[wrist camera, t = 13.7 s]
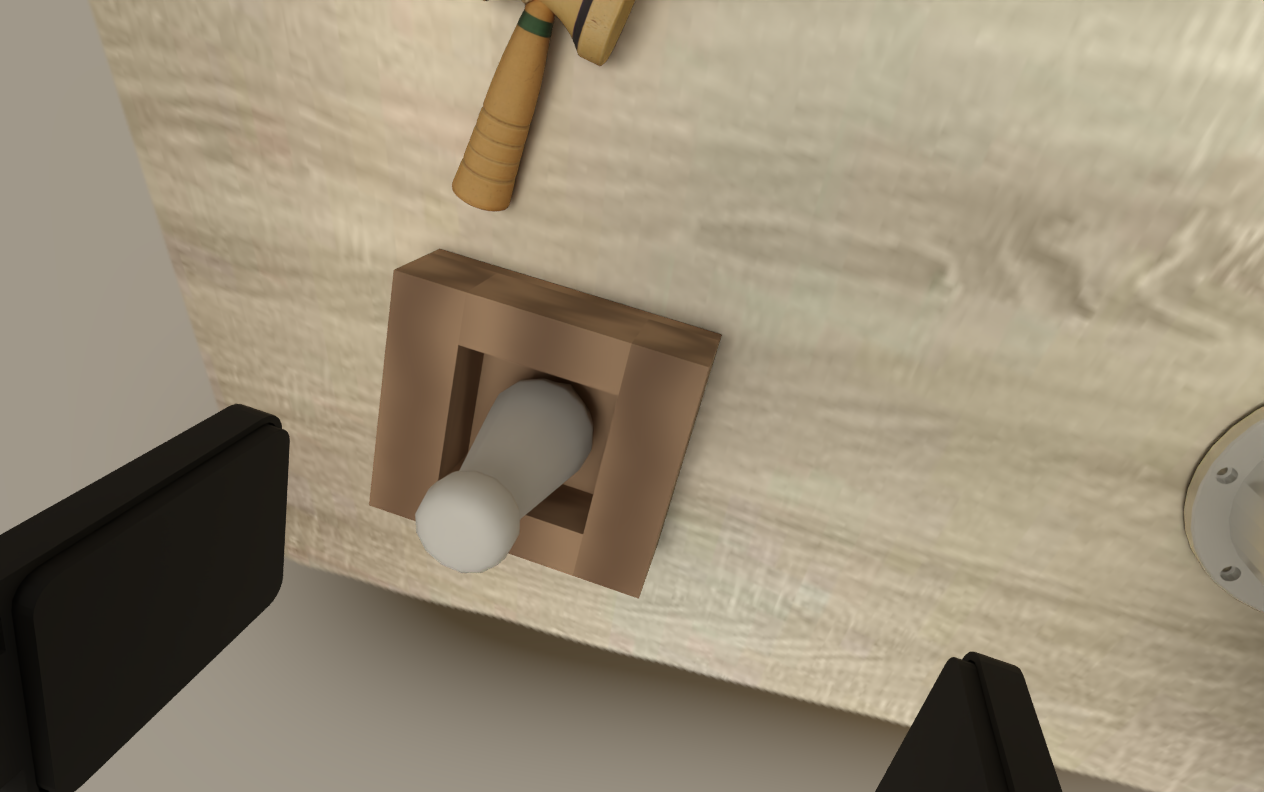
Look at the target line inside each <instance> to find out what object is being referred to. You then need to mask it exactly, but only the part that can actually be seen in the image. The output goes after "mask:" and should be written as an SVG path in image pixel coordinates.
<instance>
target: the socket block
mask: <svg viewBox="0 0 1264 792" xmlns="http://www.w3.org/2000/svg"><path fill="white" fill-rule="evenodd" d="M721 336H722V335H721V334H718V333H715V332H711V331H708V330H705V329H702V328H698V327H695V326H692V325H688V324H685V323H682V322H679V321H675V320H672V319H669V318H665V317H662V316H659V315H656V314H652V313H649V312H646V311H642V310H639V309H636V308H633V307H629V306H626V305H623V304H619V303H616V302H613V301H609V300H606V299H603V298H600V297H596V296H593V295H590V294H586V293H583V292H580V291H577V290H573V289H570V288H567V287H563V286H560V285H557V284H554V283H550V282H547V281H544V280H540V279H537V278H534V277H531V276H527V275H524V274H521V273H517V272H514V271H511V270H508V269H504V268H501V267H498V266H494V265H491V264H488V263H484V262H481V261H478V260H475V259H471V258H468V257H465V256H461V255H458V254H455V253H452V252H448V251H445V250H442V249H438V250H436V251H434V252H432V253H430V254H427V255H425V256H423V257H421V258H419V259H417V260H414V261H412V262H410V263H408V264H406V265H403V266H401V267H399V268H397V269H395V270H394V273H393V283H392V292H391V302H390V312H389V321H388V331H387V340H386V350H385V359H384V369H383V378H382V388H381V397H380V407H379V416H378V426H377V435H376V445H375V454H374V464H373V473H372V483H371V492H370V502H369V505H370V506H373V507H376V508H379V509H382V510H385V511H388V512H391V513H394V514H396V515H399V516H402V517H405V518H408V519H411V520H414V521H416V518H415V513H416V511H417V510H418V508H419V506H420V504H421V502H422V500H423V499H424V497H425V495H426V493H427V491H428V489H429V488H430V487H431V486H433V485H434V484H435V483H436V482H437V481H439V480H441V479H442V478H444V477H446V476H447V475H449V474H451V473H452V472H455V471H459V470H460V468H461V466H462V464H463V462H464V460H465V458H466V457H467V455H468V453H469V451H470V449H471V447H472V445H473V443H474V441H475V439H476V437H477V435H478V433H479V431H480V429H481V427H482V425H483V423H484V421H485V419H486V417H487V415H488V413H489V411H490V409H491V407H492V406H493V404H494V402H495V400H496V398H497V397H498V395H499V394H500V393H501V392H503V391H504V390H506V389H508V388H509V387H511V386H512V385H514V384H516V383H517V382H519V381H521V380H530V379H547V380H550V381H554V382H558V383H565V384H571V385H572V387H573V388H574V389H575V391H576V392H577V394H578V395H579V397H580V398H581V399H582V401H583V402H584V404H585V405H586V407H587V408H588V409H589V411H590V414H591V418H592V422H593V440H592V449H591V452H590V453H589V455H588V457H587V458H586V460H585V462H584V463H583V465H582V466H581V468H580V470H578V471H577V472H576V473H575V474H574V475H572V476H571V477H570V478H569V479H568V480H567V481H565V482H564V483H563V484H562V485H561V486H559V487H558V488H557V489H556V490H555V491H553V492H552V493H551V494H550V495H549V496H547V497H546V498H545V499H544V500H543V501H542V502H540V503H539V504H538V505H537V506H536V507H534V508H533V509H532V510H531V511H530V512H528V513H527V514H526V515H525V516H524V517H522V518H521V519H520V531H519V535H518V537H517V539H516V541H515V543H514V544H513V546H512V548H511V549H510V551H509V554H512V555H515V556H518V557H520V558H523V559H526V560H529V561H532V562H535V563H538V564H541V565H544V566H546V567H549V568H552V569H555V570H558V571H561V572H564V573H567V574H570V575H572V576H575V577H578V578H581V579H584V580H587V581H590V582H593V583H596V584H598V585H601V586H604V587H607V588H610V589H613V590H616V591H619V592H621V593H624V594H627V595H630V596H633V597H636V598H639V596H640V593H641V591H642V588H643V585H644V582H645V579H646V576H647V573H648V571H649V568H650V565H651V562H652V559H653V556H654V553H655V550H656V548H657V544H658V541H659V538H660V535H661V531H662V528H663V525H664V522H665V518H666V515H667V512H668V509H669V505H670V502H671V499H672V495H673V492H674V489H675V486H676V482H677V479H678V476H679V473H680V469H681V466H682V463H683V460H684V456H685V453H686V450H687V447H688V443H689V440H690V437H691V434H692V430H693V427H694V424H695V420H696V417H697V414H698V411H699V407H700V404H701V401H702V398H703V394H704V391H705V388H706V385H707V381H708V378H709V375H710V372H711V368H712V365H713V362H714V359H715V355H716V352H717V349H718V346H719V342H720V339H721Z"/></svg>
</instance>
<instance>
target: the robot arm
mask: <svg viewBox="0 0 1264 792" xmlns="http://www.w3.org/2000/svg"><path fill="white" fill-rule="evenodd" d="M289 445H290V439H289V434H288V432H287V431H286V430H284V429H282V424H281V422H280V419H279V418H278V417H276V416H275V415H272V414H269V413H266V412H263V411H260V410H257V409H254V408H251V407H248V406H245V405H242V404H234V405H231V406H229V407H227V408H225V409H223V410H222V411H220V412H218V413H216V414H215V415H213V416H211V417H209V418H207V419H206V420H204V421H202V422H200V423H199V424H197V425H195V426H193V427H191V428H190V429H188V430H186V431H184V432H183V433H181V434H179V435H178V436H175V437H174V438H172V439H170V440H168V441H167V442H165V443H163V444H161V445H159V446H158V447H156V448H154V449H152V450H151V451H149V452H147V453H145V454H143V455H142V456H140V457H138V458H136V459H134V460H133V461H131V462H129V463H127V464H126V465H124V466H122V467H120V468H118V469H117V470H115V471H113V472H111V473H110V474H108V475H106V476H104V477H102V478H101V479H99V480H97V481H95V482H94V483H92V484H90V485H88V486H86V487H85V488H83V489H81V490H79V491H78V492H76V493H74V494H72V495H70V496H69V497H67V498H65V499H63V500H61V501H60V502H58V503H56V504H54V505H53V506H51V507H49V508H47V509H45V510H44V511H42V512H40V513H38V514H37V515H35V516H33V517H31V518H29V519H28V520H26V521H24V522H22V523H21V524H19V525H17V526H15V527H13V528H12V529H10V530H8V531H6V532H5V533H3V534H1V535H0V792H74V791H76V790H77V789H78V788H79V787H81V786H82V785H83V784H84V783H85V782H86V781H87V780H88V779H89V778H90V777H91V776H92V775H93V774H94V773H96V772H97V771H98V770H99V769H100V768H101V767H102V766H103V765H104V764H105V763H106V762H107V761H108V760H109V759H110V758H111V757H112V756H113V755H114V754H115V753H116V752H117V751H118V750H119V749H120V748H121V747H122V746H124V745H125V743H127V742H128V741H129V740H130V739H131V738H132V737H133V736H134V735H135V734H136V733H137V732H138V731H139V730H140V729H141V728H142V727H143V726H144V725H145V724H146V723H147V722H148V721H150V720H151V719H152V717H154V716H155V715H156V714H157V713H158V712H159V711H160V710H161V709H162V708H163V707H164V706H165V705H166V704H167V703H168V702H169V701H170V700H171V699H172V698H173V697H174V696H176V695H177V693H179V692H180V691H181V689H183V688H184V687H185V686H186V685H187V684H188V683H189V682H190V681H191V680H192V679H193V678H194V677H195V676H196V675H197V674H198V673H199V672H200V671H201V670H202V669H204V668H205V667H206V665H208V664H209V663H210V662H211V661H212V660H213V659H214V658H215V657H216V656H217V655H218V654H219V653H220V652H221V651H222V650H223V649H224V648H225V647H226V646H227V645H228V644H230V643H231V642H232V641H233V640H234V639H235V638H236V637H237V636H238V635H239V634H240V633H241V632H242V631H243V630H244V629H245V628H246V627H247V626H248V625H249V624H250V623H251V622H252V621H253V620H254V619H256V618H257V616H259V615H260V614H261V613H262V612H263V611H264V610H265V609H266V608H267V607H268V606H269V605H270V604H271V603H272V602H273V600H274V599H275V597H276V596H277V594H278V592H279V590H280V587H281V584H282V580H283V565H284V564H283V563H284V545H285V525H286V505H287V485H288V465H289ZM1220 469H1221V470H1220ZM1184 520H1185V532H1186V535H1187V538H1188V541H1189V544H1190V547H1191V550H1192V552H1193V553H1194V555H1195V556H1196V558H1197V559H1198V561H1199V562H1200V564H1201V566H1202V567H1203V568H1204V570H1205V571H1206V572H1207V573H1208V575H1209V576H1210V577H1211V578H1212V580H1213V581H1214V582H1215V583H1216V584H1217V585H1218V586H1219V587H1221V588H1222V589H1223V590H1224V591H1226V592H1227V593H1228V594H1229V595H1231V596H1232V597H1233V598H1235V599H1236V600H1238V601H1240V602H1242V603H1244V604H1246V605H1248V606H1250V607H1252V608H1254V609H1255V610H1257V611H1261V612H1264V407H1262V408H1260V409H1258V410H1256V411H1254V412H1253V413H1252V414H1250V415H1249V416H1247V417H1246V418H1244V419H1243V420H1242V421H1240V422H1239V423H1237V424H1236V425H1234V426H1233V427H1232V428H1231V429H1230V430H1229V431H1228V432H1227V433H1226V434H1224V435H1223V436H1222V437H1221V438H1220V439H1219V440H1218V441H1217V442H1216V443H1215V444H1214V445H1213V446H1212V447H1211V449H1210V450H1209V452H1208V453H1207V454H1206V456H1205V457H1204V459H1203V460H1202V461H1201V463H1200V464H1199V466H1198V467H1197V469H1196V472H1195V474H1194V476H1193V478H1192V481H1191V483H1190V485H1189V487H1188V491H1187V496H1186V502H1185V507H1184ZM875 792H1062V789H1061V786H1060V784H1059V780H1058V777H1057V774H1056V771H1055V768H1054V765H1053V762H1052V759H1051V757H1050V754H1049V751H1048V748H1047V745H1046V742H1045V739H1044V736H1043V733H1042V730H1041V727H1040V724H1039V721H1038V718H1037V715H1036V712H1035V709H1034V706H1033V703H1032V700H1031V697H1030V694H1029V691H1028V688H1027V685H1026V682H1025V679H1024V676H1023V674H1022V672H1021V670H1020V668H1018V667H1017V666H1015V665H1012V664H1009V663H1006V662H1003V661H1000V660H997V659H994V658H991V657H988V656H985V655H982V654H979V653H977V652H969V653H968V654H966V655H965V656H964V658H963V659H962V660H961V659H958V658H955V657H952V658H950V659H949V660H948V661H947V663H946V664H945V666H944V668H943V669H942V671H941V673H940V675H939V677H938V679H937V680H936V682H935V684H934V686H933V688H932V689H931V691H930V693H929V695H928V697H927V698H926V700H925V702H924V704H923V706H922V708H921V709H920V711H919V713H918V715H917V717H916V718H915V720H914V722H913V724H912V726H911V728H910V729H909V731H908V733H907V735H906V737H905V738H904V740H903V742H902V744H901V746H900V748H899V749H898V751H897V753H896V755H895V757H894V758H893V760H892V762H891V764H890V766H889V767H888V769H887V771H886V773H885V775H884V777H883V779H882V780H881V782H880V784H879V786H878V787H877V789H876V791H875Z"/></svg>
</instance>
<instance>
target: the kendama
mask: <svg viewBox="0 0 1264 792" xmlns="http://www.w3.org/2000/svg"><path fill="white" fill-rule="evenodd" d="M483 1H488V0H483ZM522 2H523V3H525V9H524V11H523V13H522V15H521V17H520V18H519V21H518V24H517V26H516V28H515V30H514V32H513V34H512V36H511V39H510V40H509V43H508V45H507V47H506V49H505V51H504V53H503V55H502V58H501V60H500V62H499V65H498V67H497V69H496V72H495V74H494V77H493V79H492V82H491V84H490V87H489V90H488V92H487V95H486V98H485V100H484V103H483V107H482V109H481V111H480V114H479V117H478V119H477V123H476V125H475V127H474V130H473V133H472V135H471V138H470V141H469V143H468V146H467V148H466V151H465V154H464V158H463V159H462V161H461V163H460V166H459V168H458V171H457V173H456V175H455V178H454V180H453V182H452V189H453V192H454V193H455V194H456V195H457V196H458V197H459V198H460V199H461V200H463V201H464V202H465V203H467V204H469V205H471V206H473V207H476V208H479V209H482V210H487V211H502V210H505V209H506V208H508V206H509V203H510V200H511V196H512V191H513V187H514V183H515V177H516V175H517V171H518V167H519V163H520V159H521V156H522V152H523V149H524V143H525V141H526V138H527V134H528V131H529V124H530V123H531V120H532V117H533V114H534V110H535V106H536V103H537V99H538V95H539V91H540V87H541V83H542V78H543V74H544V69H545V64H546V58H547V53H548V48H549V42H550V37H551V33H552V27H553V22H554V17H555V15H556V16H557V17H558V18H559V19H560V20H561V22H562V23H563V24H564V26H565V27H566V29H567V30H568V32H569V33H570V35H571V37H572V39H573V42H574V44H575V47H576V50H577V53H578V55H579V56H580V57H582V58H584V59H586V60H588V61H590V62H593V63H595V64H597V65H599V66H602V65H603V64H604V63H605V62H606V61H607V59H608V58H609V56H610V54H611V52H612V50H613V48H614V47H615V45H616V42H617V40H618V38H619V35H620V33H621V31H622V29H623V27H624V25H625V23H626V21H627V19H628V16H629V14H630V12H631V9H632V7H633V5H634V2H635V0H522Z"/></svg>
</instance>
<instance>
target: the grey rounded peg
mask: <svg viewBox="0 0 1264 792" xmlns="http://www.w3.org/2000/svg"><path fill="white" fill-rule="evenodd" d="M592 440H593V422H592V418H591V414H590V411H589V409H588V408H587V407H586V405H585V404H584V402H583V401H582V399H581V398H580V397H579V395H578V394H577V392H576V391H575V389H574V388H573V387H572V385H571V384H565V383H558V382H554V381H550V380H547V379H530V380H521V381H519V382H517V383H516V384H514V385H512V386H511V387H509V388H508V389H506V390H504V391H503V392H501V393H500V394H499V395H498V397H497V398H496V400H495V402H494V404H493V406H492V407H491V409H490V411H489V413H488V415H487V417H486V419H485V421H484V423H483V425H482V427H481V429H480V431H479V433H478V435H477V437H476V439H475V441H474V443H473V445H472V447H471V449H470V451H469V453H468V455H467V457H466V458H465V460H464V462H463V464H462V466H461V468H460V470H459V471H455V472H452V473H451V474H449V475H447V476H446V477H444V478H442V479H441V480H439V481H437V482H436V483H435V484H434V485H433V486H431V487H430V488H429V489H428V491H427V493H426V495H425V497H424V499H423V500H422V502H421V504H420V506H419V508H418V510H417V511H416V513H415V518H416V533H417V535H418V537H419V538H420V540H421V542H422V544H423V546H424V548H425V550H426V551H427V552H428V553H429V554H430V555H431V556H432V557H434V558H435V559H436V560H437V561H438V562H439V563H440V564H442V565H444V566H446V567H448V568H451V569H453V570H456V571H458V572H461V573H482V572H484V571H486V570H488V569H490V568H492V567H494V566H496V565H498V564H499V563H500V562H501V561H502V560H504V559H505V558H506V556H507V554H508V553H509V551H510V549H511V548H512V546H513V544H514V543H515V541H516V539H517V537H518V535H519V531H520V519H521V518H522V517H524V516H525V515H526V514H527V513H528V512H530V511H531V510H532V509H533V508H534V507H536V506H537V505H538V504H539V503H540V502H542V501H543V500H544V499H545V498H546V497H547V496H549V495H550V494H551V493H552V492H553V491H555V490H556V489H557V488H558V487H559V486H561V485H562V484H563V483H564V482H565V481H567V480H568V479H569V478H570V477H571V476H572V475H574V474H575V473H576V472H577V471H578V470H580V468H581V466H582V465H583V463H584V462H585V460H586V458H587V457H588V455H589V453H590V452H591V449H592Z"/></svg>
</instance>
